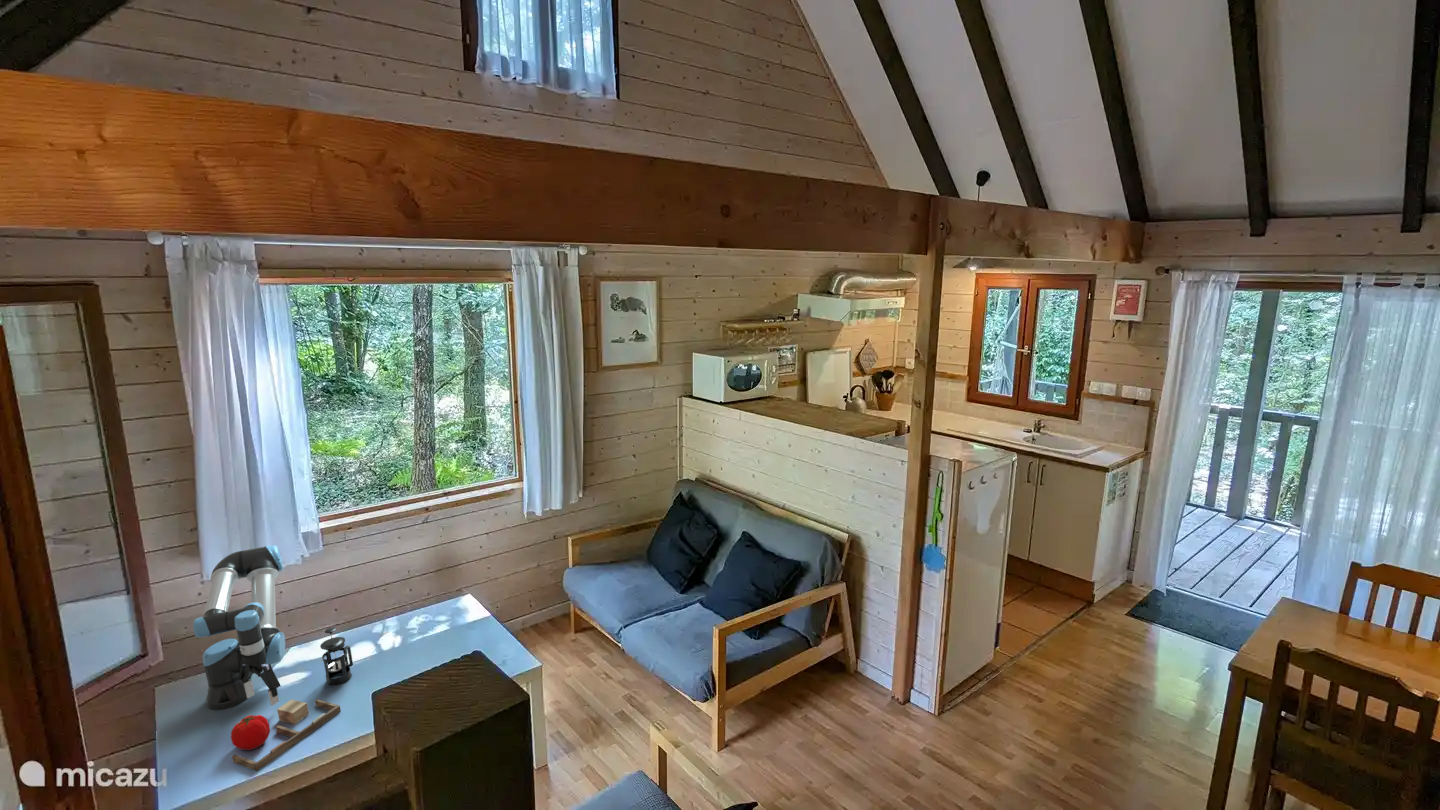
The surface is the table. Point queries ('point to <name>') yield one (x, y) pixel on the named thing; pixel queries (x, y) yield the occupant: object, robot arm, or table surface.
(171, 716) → the table surface
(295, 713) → the light wooden block
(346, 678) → the french press
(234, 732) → the tomato
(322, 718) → the rack
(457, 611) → the table surface
